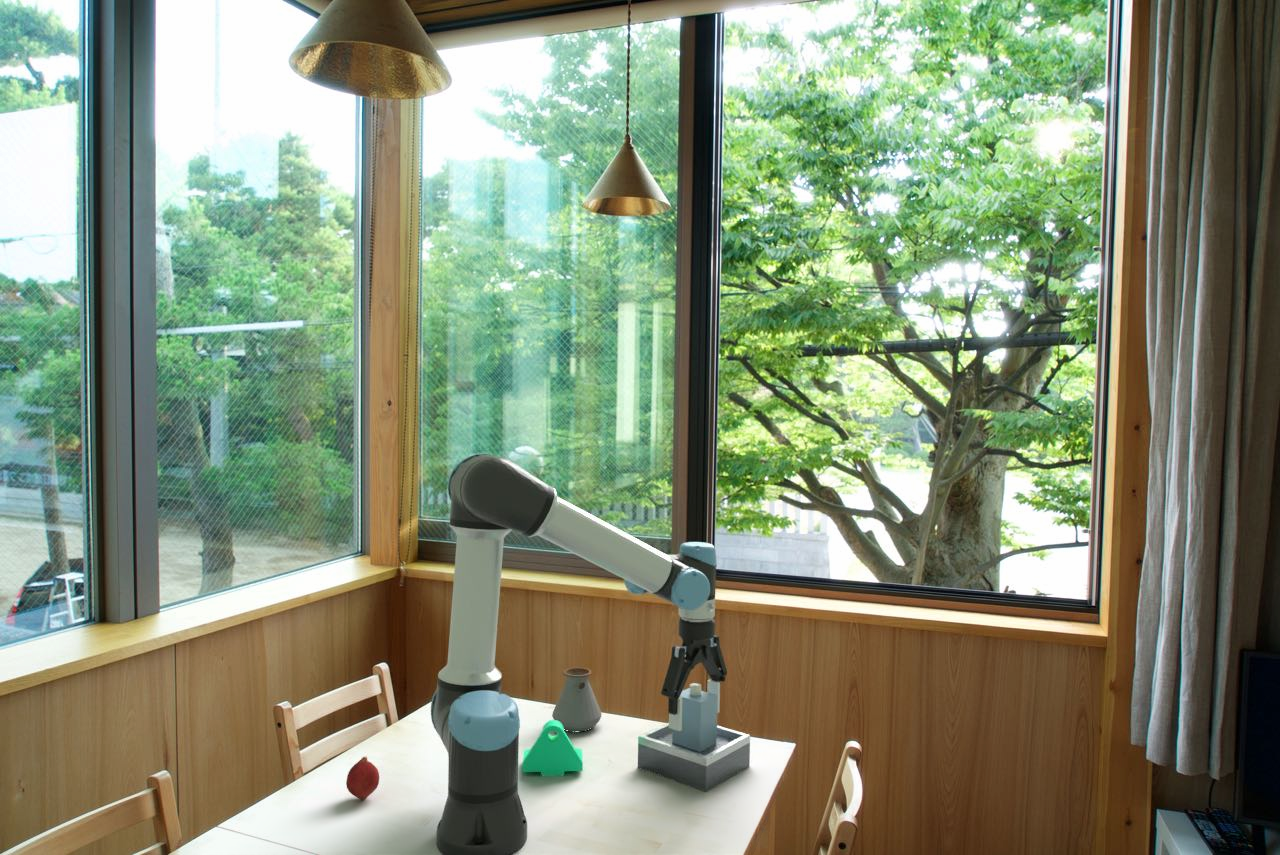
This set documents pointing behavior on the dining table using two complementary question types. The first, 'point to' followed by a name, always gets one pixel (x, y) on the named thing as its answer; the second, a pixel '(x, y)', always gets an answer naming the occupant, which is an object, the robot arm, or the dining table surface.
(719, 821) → the dining table surface
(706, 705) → the blue bottle
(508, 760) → the robot arm
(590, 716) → the coffee pot
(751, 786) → the dining table surface
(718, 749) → the open square box
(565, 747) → the camera mount
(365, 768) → the onion
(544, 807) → the dining table surface
